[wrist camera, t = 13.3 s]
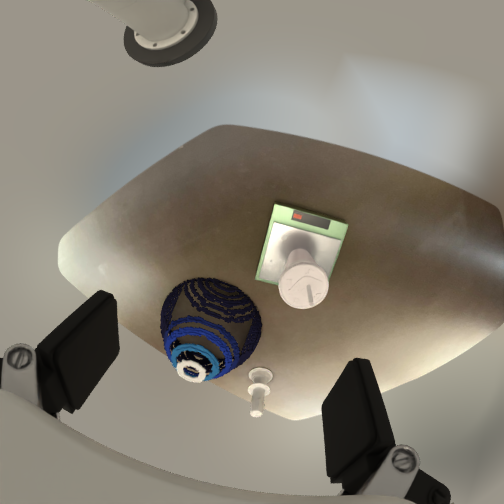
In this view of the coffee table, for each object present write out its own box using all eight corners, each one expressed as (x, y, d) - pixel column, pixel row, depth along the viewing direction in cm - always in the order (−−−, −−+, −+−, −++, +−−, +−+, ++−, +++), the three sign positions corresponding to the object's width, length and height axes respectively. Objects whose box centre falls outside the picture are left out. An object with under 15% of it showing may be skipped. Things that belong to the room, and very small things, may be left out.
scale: (275, 200, 43) (274, 204, 40) (344, 220, 43) (349, 225, 40) (256, 272, 48) (254, 280, 45) (320, 288, 48) (323, 297, 45)
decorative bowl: (241, 371, 56) (231, 421, 43) (158, 339, 56) (131, 382, 42) (277, 302, 50) (275, 352, 36) (176, 262, 49) (142, 300, 35)
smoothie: (324, 270, 42) (340, 318, 29) (287, 283, 44) (288, 335, 31) (312, 234, 41) (326, 271, 28) (273, 248, 42) (269, 290, 29)
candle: (244, 376, 57) (236, 416, 46) (257, 363, 55) (252, 405, 44) (263, 386, 57) (259, 426, 46) (277, 373, 56) (275, 415, 44)
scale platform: (273, 220, 42) (273, 222, 41) (340, 239, 41) (341, 240, 41) (258, 276, 45) (258, 278, 44) (321, 291, 45) (322, 293, 44)
